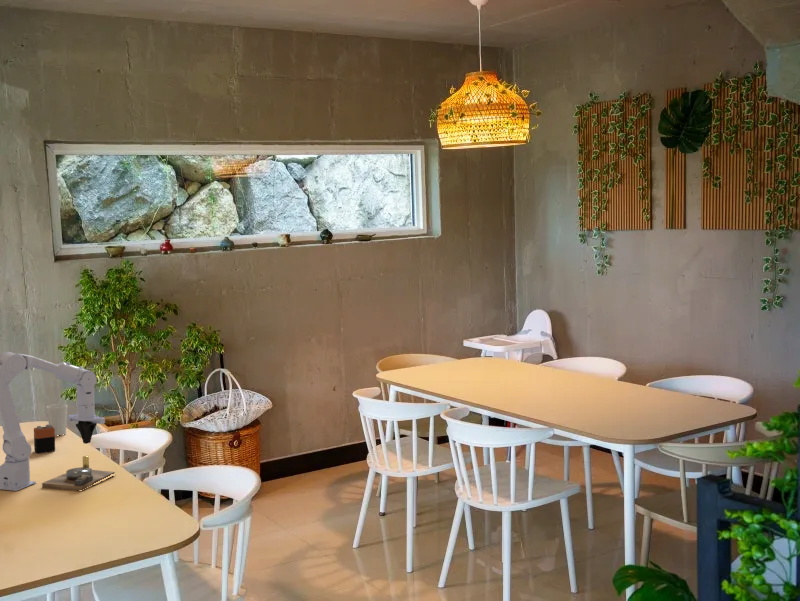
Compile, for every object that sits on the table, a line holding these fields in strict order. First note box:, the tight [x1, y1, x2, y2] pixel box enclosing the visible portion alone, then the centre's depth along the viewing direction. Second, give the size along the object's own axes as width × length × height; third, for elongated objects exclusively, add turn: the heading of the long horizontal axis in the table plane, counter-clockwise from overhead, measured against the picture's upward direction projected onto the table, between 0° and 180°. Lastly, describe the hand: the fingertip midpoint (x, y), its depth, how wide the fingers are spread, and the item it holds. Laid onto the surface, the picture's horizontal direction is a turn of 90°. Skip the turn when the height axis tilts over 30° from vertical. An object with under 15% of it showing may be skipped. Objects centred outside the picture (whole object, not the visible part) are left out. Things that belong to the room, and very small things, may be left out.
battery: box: [33, 423, 56, 454], centre depth 327 cm, size 4×7×10 cm, turn 123°
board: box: [41, 469, 116, 491], centre depth 287 cm, size 18×15×4 cm
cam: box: [66, 455, 93, 480], centre depth 289 cm, size 12×8×5 cm
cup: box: [46, 403, 68, 437], centre depth 353 cm, size 8×8×12 cm
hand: (86, 442), depth 298 cm, fingers closed
